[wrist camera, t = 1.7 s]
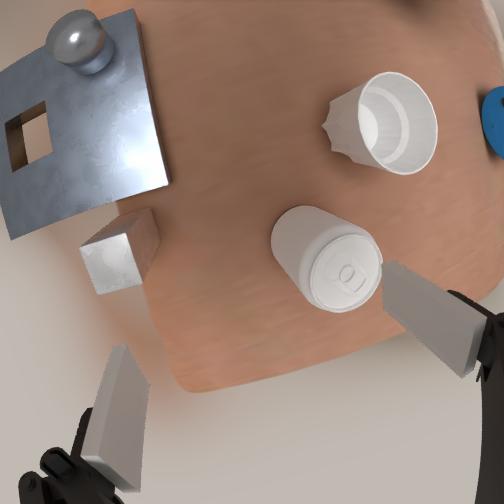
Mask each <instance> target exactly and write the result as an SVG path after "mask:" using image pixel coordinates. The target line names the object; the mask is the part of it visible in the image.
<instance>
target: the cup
mask: <svg viewBox="0 0 504 504" xmlns="http://www.w3.org/2000/svg"><path fill="white" fill-rule="evenodd" d="M329 104H330V111H329V113H328V116H327V119H326V121H325V122H324V123H323V124H322V125H321V126H322V127H323V128H324V129H325V130H326V132H327V134H328V137H329V139H330V142H331V151H335V152H341V153H343V154H345V155H347V156H349V157H350V159H351V160H352V161H353V162H355V163H360V164H364V165H368V166H373V167H376V168H380V169H383V170H386V171H389V172H392V173H397V174H401V175H407V174H413V173H415V172H417V171H419V170H421V169H423V167H424V166H425V165H426V164H427V163H428V162H429V161H430V159H431V157H432V155H433V154H434V151H435V147H436V144H437V135H438V127H437V120H436V115H435V112H434V109H433V106H432V104H431V102H430V100H429V98H428V97H427V95H426V93H425V92H424V91H423V90H422V89H421V87H420V86H419V85H418V84H417V83H415V82H414V81H413V80H412V79H410V78H409V77H407V76H404V75H402V74H400V73H394V72H385V73H381V74H378V75H376V76H374V77H372V78H371V79H369V80H367V81H366V82H364V83H362V84H360V85H359V86H357V87H355V88H354V89H352V90H351V91H349V92H347V93H346V94H343V95H342V96H340V97H338V98H336V99H334V100H332V101H330V102H329Z"/></svg>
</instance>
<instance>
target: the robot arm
mask: <svg viewBox="0 0 504 504" xmlns="http://www.w3.org/2000/svg"><path fill="white" fill-rule="evenodd" d="M381 271H382V290H383V309H384V310H385V311H386V312H387V313H388V314H390V315H391V316H392V317H393V318H394V319H395V320H397V321H398V322H399V323H400V324H401V325H402V326H403V327H405V328H406V329H407V330H408V331H409V332H410V333H412V334H413V335H414V336H415V337H416V338H417V339H418V340H419V341H421V342H422V343H423V344H424V345H425V346H426V347H427V348H428V349H430V350H431V351H432V352H433V353H434V354H435V355H436V356H437V357H438V358H440V359H441V360H442V361H443V362H444V363H445V364H446V365H447V366H448V367H450V368H451V369H452V370H453V371H454V372H455V373H456V374H457V375H458V376H459V377H460V378H461V379H462V378H463V377H465V376H466V375H468V374H469V373H470V372H471V371H473V370H474V367H475V363H476V360H478V361H480V362H481V366H480V369H479V372H478V375H477V378H476V382H478V381H479V378H480V376H481V391H482V445H481V461H480V470H479V479H478V486H477V493H476V499H475V504H504V312H503V313H499V314H497V315H494V314H493V313H492V312H490V311H488V310H487V309H485V308H484V307H482V306H480V305H479V304H477V303H476V302H473V300H471V299H469V298H467V297H466V296H464V295H463V294H461V293H459V292H456V291H452V290H448V291H445V290H444V289H442V288H440V287H439V286H437V285H435V284H434V283H432V282H430V281H429V280H427V279H425V278H424V277H422V276H420V275H419V274H417V273H415V272H414V271H412V270H410V269H408V268H407V267H405V266H403V265H401V264H400V263H398V262H396V261H394V260H390V261H388V262H385V263H382V264H381ZM149 386H150V384H149V382H148V380H147V379H146V377H145V376H144V374H143V372H142V370H141V369H140V367H139V365H138V364H137V362H136V360H135V358H134V357H133V355H132V353H131V351H130V349H129V348H128V346H127V344H123V345H118V346H114V347H113V349H112V352H111V354H110V357H109V361H108V363H107V366H106V369H105V372H104V375H103V378H102V381H101V384H100V387H99V390H98V394H97V397H96V400H95V403H94V407H93V408H87V409H86V411H85V412H84V414H83V415H82V417H81V419H80V423H79V428H78V429H77V435H76V436H75V440H74V444H73V447H72V451H71V455H70V456H69V455H68V454H67V453H66V452H65V451H64V450H63V449H62V448H59V447H55V448H51V449H49V450H47V451H46V452H45V453H44V454H43V456H42V457H41V460H40V469H41V470H42V471H44V472H45V473H46V474H47V475H48V477H44V478H42V477H40V476H39V475H38V474H37V473H36V472H33V471H30V472H27V473H25V474H24V475H23V476H22V477H21V478H20V480H19V485H18V488H19V497H20V504H124V503H123V501H122V500H121V499H120V498H119V497H118V496H117V495H116V494H115V493H114V492H115V486H116V487H117V488H118V489H119V490H121V491H122V492H140V486H141V467H142V453H143V440H144V429H145V419H146V411H147V410H146V409H147V401H148V393H149Z"/></svg>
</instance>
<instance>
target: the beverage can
mask: <svg viewBox="0 0 504 504" xmlns="http://www.w3.org/2000/svg"><path fill="white" fill-rule="evenodd" d="M271 249H272V252H273V255H274V257H275V259H276V260H277V261H278V263H279V264H280V265H281V267H282V268H283V269H284V271H285V272H286V273H287V274H288V276H289V277H290V278H291V280H292V281H293V282H294V284H295V285H296V286H297V287H298V289H299V290H300V291H301V293H302V294H303V295H304V297H305V298H306V299H307V300H308V301H309V302H310V303H311V304H313V305H314V306H316V307H318V308H320V309H324V310H328V311H331V312H337V313H340V312H347V311H350V310H353V309H355V308H357V307H359V306H360V305H362V304H363V303H365V302H366V301H367V300H368V299H369V298H370V297H371V296H372V294H373V293H374V291H375V290H376V288H377V286H378V284H379V282H380V279H381V276H382V271H381V264H382V263H383V260H382V255H381V252H380V250H379V248H378V246H377V244H376V242H375V240H374V239H373V237H372V236H371V235H370V234H369V233H368V232H367V231H366V230H364V229H363V228H361V227H359V226H357V225H355V224H352V223H350V222H348V221H346V220H344V219H342V218H339V217H337V216H335V215H333V214H330V213H328V212H326V211H324V210H321V209H319V208H317V207H314V206H308V205H304V206H298V207H295V208H292V209H290V210H288V211H287V212H285V213H284V214H283V215H282V216H281V217H280V218H279V219H278V221H277V222H276V224H275V226H274V228H273V231H272V234H271Z"/></svg>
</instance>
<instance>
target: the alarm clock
mask: <svg viewBox="0 0 504 504" xmlns="http://www.w3.org/2000/svg"><path fill="white" fill-rule="evenodd" d="M482 125H483V129H484V132H485V135H486V138H487V140H488V142H489V144H490V145H491V147H492V148H493V150H494V151H495V152H496V153H497V154H498V155H499V156H500V157H501V158H502V159H503V160H504V86H500V87H497V88H494V89H493V90H491V91H490V92H489V93H488V94H487V96H486V97H485V99H484V102H483V106H482Z"/></svg>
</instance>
